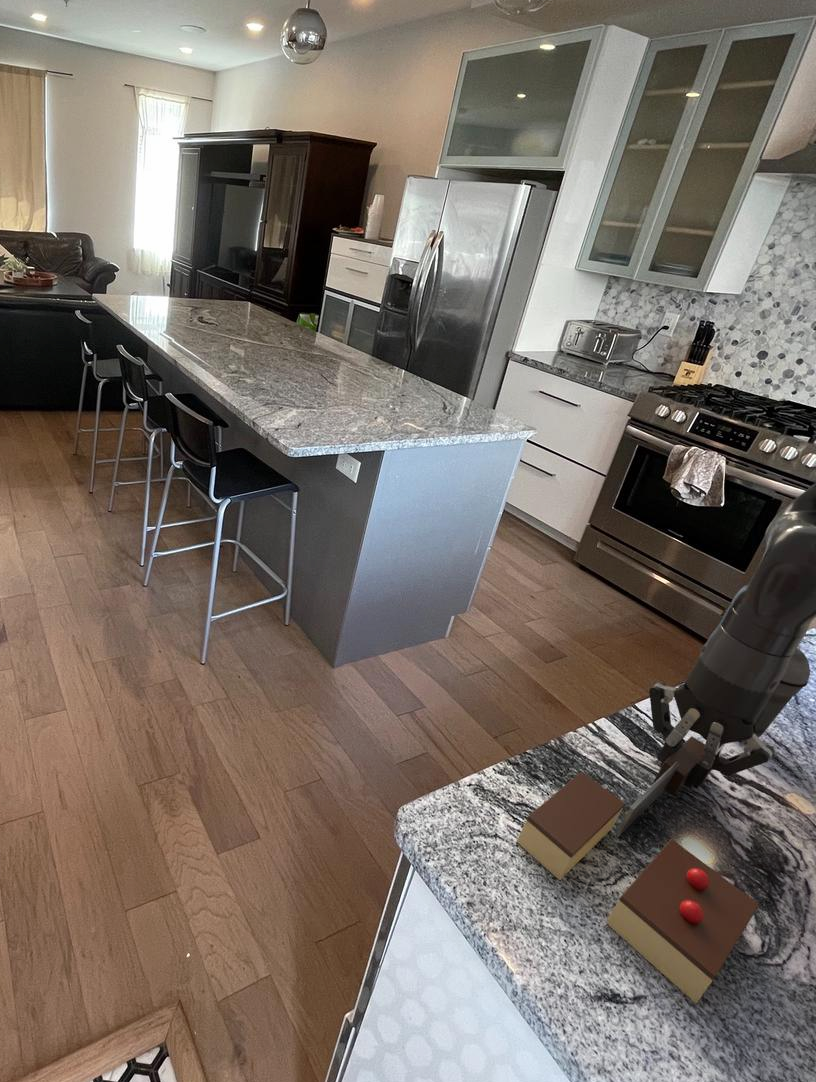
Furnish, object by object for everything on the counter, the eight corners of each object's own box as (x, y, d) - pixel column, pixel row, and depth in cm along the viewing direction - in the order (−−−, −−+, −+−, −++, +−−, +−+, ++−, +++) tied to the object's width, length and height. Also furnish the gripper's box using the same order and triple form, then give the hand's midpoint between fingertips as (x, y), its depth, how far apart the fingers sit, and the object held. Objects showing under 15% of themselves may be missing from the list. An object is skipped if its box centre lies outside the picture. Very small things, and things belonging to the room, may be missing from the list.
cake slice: (570, 795, 75) (582, 771, 74) (612, 828, 72) (625, 803, 70) (516, 841, 68) (527, 815, 67) (559, 880, 65) (573, 854, 63)
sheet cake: (656, 863, 68) (677, 828, 66) (741, 930, 62) (766, 894, 60) (605, 922, 61) (627, 885, 59) (695, 1004, 55) (723, 965, 53)
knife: (680, 755, 84) (695, 729, 83) (700, 768, 83) (715, 742, 81) (605, 827, 72) (621, 799, 70) (627, 845, 70) (643, 816, 68)
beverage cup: (779, 757, 87) (854, 639, 79) (723, 744, 88) (792, 627, 80) (749, 720, 94) (815, 608, 86) (697, 708, 94) (759, 596, 87)
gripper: (819, 695, 72) (749, 803, 78) (686, 626, 81) (634, 727, 88) (800, 718, 67) (728, 830, 74) (663, 642, 77) (610, 747, 84)
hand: (677, 773), depth 81 cm, fingers closed on knife, 2 cm apart
